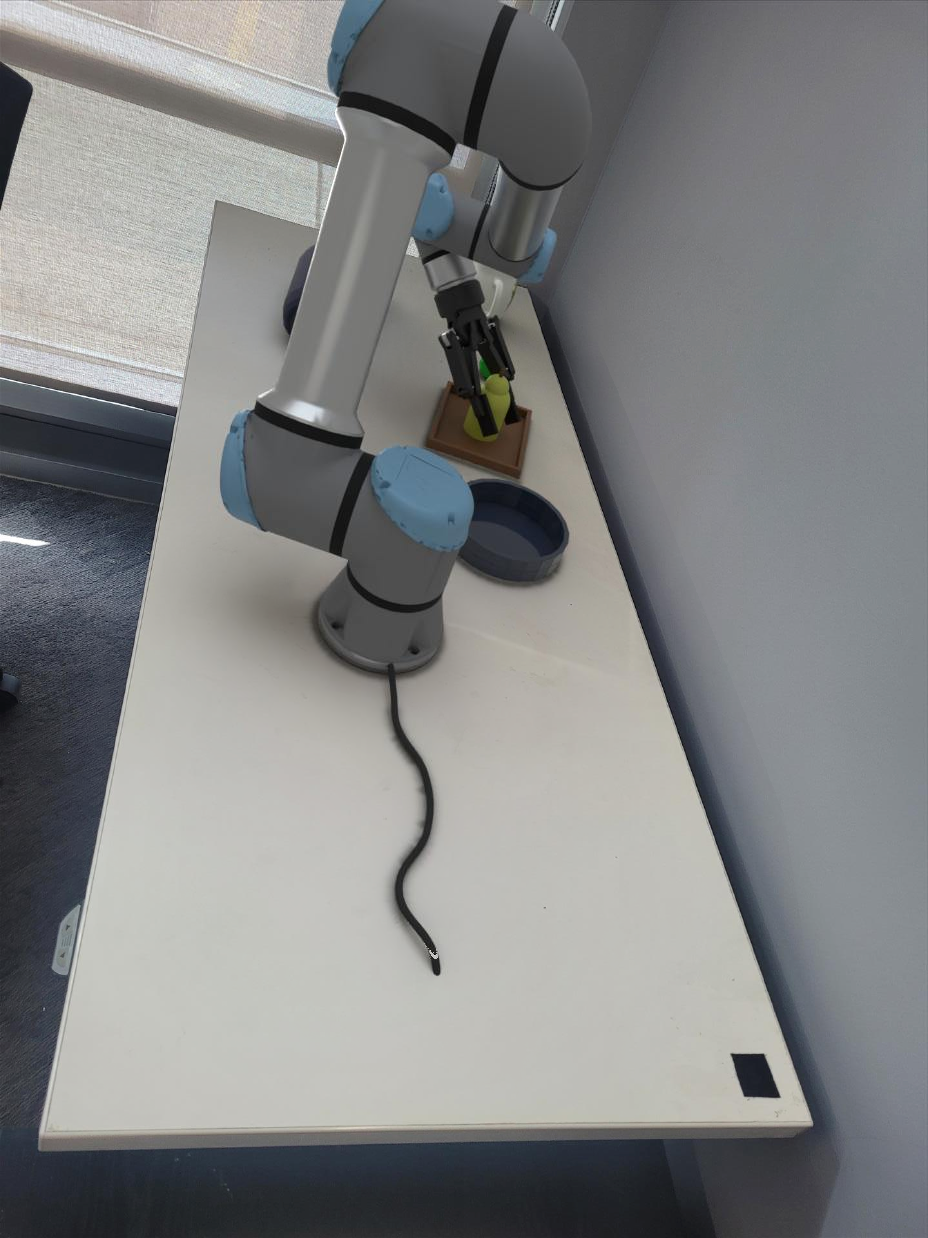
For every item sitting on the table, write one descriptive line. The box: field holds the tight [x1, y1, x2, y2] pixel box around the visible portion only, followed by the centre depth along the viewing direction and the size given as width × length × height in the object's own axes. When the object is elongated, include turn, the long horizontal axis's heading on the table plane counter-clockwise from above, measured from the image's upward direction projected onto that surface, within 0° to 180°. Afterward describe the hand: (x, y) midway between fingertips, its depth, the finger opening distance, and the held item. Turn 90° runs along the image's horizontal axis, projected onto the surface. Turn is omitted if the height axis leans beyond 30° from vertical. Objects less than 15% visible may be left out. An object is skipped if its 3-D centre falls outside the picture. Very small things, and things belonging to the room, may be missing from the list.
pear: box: [464, 368, 510, 442], centre depth 133 cm, size 6×6×12 cm
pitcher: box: [473, 261, 518, 320], centre depth 163 cm, size 11×18×14 cm, turn 6°
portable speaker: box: [282, 243, 316, 337], centre depth 144 cm, size 25×10×10 cm, turn 0°
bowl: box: [457, 478, 570, 583], centre depth 118 cm, size 18×18×4 cm
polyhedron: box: [478, 357, 491, 379], centre depth 150 cm, size 5×5×5 cm
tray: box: [425, 380, 533, 479], centre depth 137 cm, size 20×16×2 cm
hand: (502, 428), depth 134 cm, fingers closed on pear, 6 cm apart
